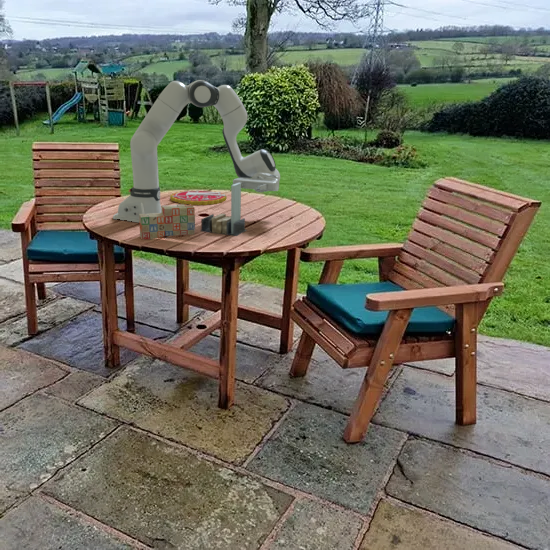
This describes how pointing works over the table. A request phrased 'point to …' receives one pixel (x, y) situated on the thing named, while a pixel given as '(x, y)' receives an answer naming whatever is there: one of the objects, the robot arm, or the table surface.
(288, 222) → the table surface
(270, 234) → the table surface
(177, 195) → the decorative sign
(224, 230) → the offcut
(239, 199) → the tall panel
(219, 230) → the offcut
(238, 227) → the slot rack
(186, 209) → the stack of blocks
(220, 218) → the offcut
